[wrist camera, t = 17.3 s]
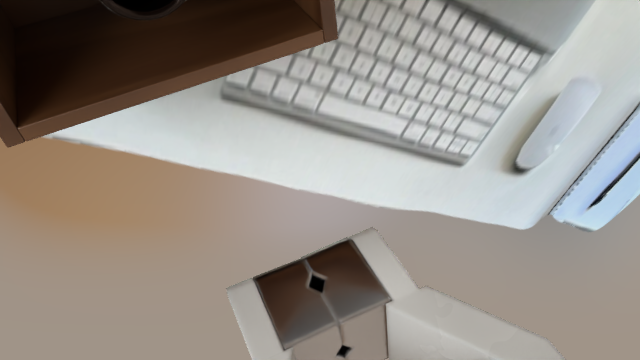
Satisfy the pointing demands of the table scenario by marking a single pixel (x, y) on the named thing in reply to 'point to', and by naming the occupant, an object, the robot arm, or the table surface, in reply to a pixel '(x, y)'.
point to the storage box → (135, 54)
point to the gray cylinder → (143, 8)
